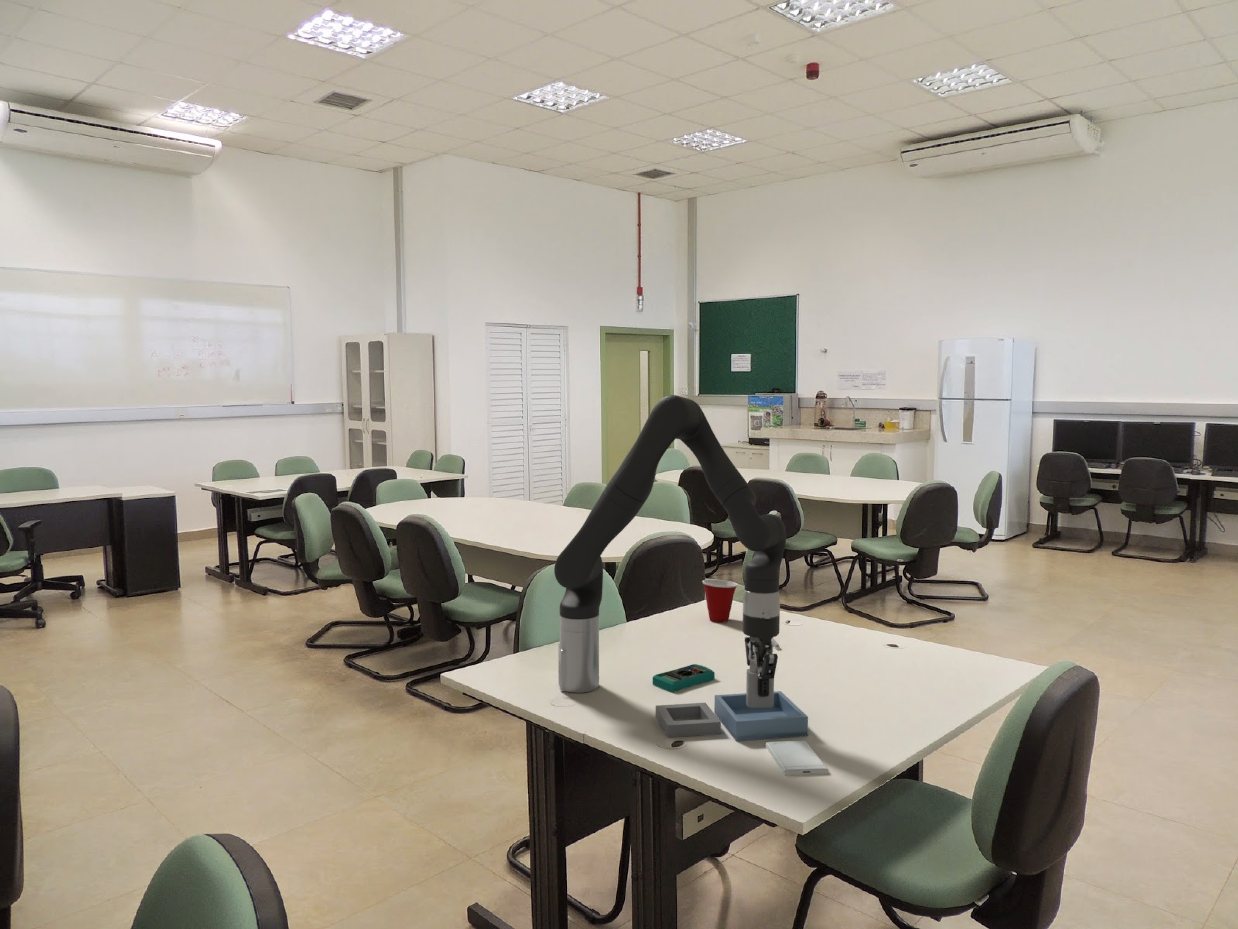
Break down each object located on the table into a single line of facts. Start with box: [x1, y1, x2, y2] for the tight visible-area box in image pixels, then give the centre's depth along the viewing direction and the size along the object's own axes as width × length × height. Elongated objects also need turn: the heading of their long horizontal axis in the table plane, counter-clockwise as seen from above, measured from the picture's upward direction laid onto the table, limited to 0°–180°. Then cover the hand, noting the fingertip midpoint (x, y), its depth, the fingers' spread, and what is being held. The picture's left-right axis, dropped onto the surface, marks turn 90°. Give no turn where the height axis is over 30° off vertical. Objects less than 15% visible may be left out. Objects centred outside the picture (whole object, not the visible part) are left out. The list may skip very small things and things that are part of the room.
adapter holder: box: [655, 702, 722, 738], centre depth 176 cm, size 11×11×2 cm
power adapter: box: [745, 658, 775, 708], centre depth 176 cm, size 3×5×12 cm, turn 91°
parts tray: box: [713, 690, 809, 742], centre depth 177 cm, size 15×15×4 cm
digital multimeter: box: [652, 663, 716, 693], centre depth 203 cm, size 7×15×3 cm, turn 130°
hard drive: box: [765, 740, 829, 776], centre depth 160 cm, size 2×8×12 cm
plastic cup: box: [702, 578, 739, 623], centre depth 258 cm, size 11×11×12 cm
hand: (759, 692), depth 176 cm, fingers closed on power adapter, 3 cm apart
